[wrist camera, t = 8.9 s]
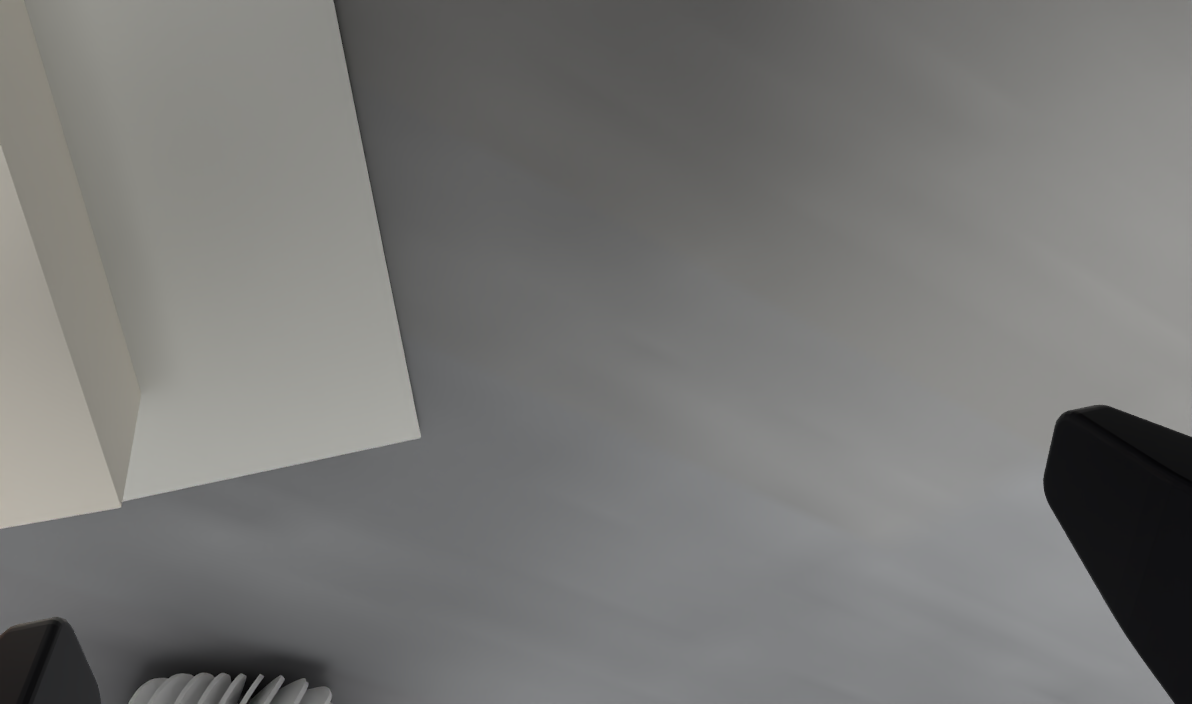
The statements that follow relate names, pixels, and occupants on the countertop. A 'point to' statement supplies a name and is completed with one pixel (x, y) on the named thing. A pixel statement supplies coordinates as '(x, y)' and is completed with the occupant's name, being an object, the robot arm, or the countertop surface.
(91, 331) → the card box
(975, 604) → the countertop surface
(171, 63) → the mat
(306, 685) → the shell sculpture
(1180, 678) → the robot arm
